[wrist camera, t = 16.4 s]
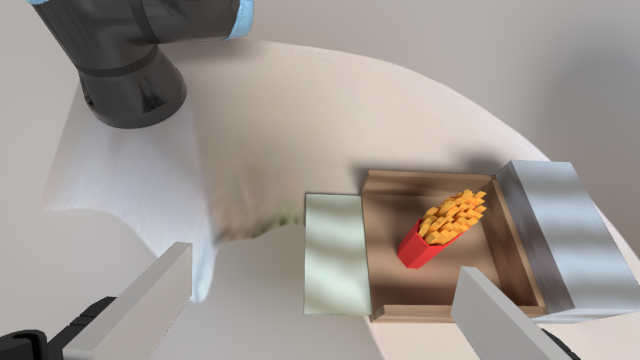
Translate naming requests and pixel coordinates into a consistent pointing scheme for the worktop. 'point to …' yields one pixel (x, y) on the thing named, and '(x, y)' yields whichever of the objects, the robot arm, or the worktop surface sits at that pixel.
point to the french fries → (440, 228)
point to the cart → (467, 248)
